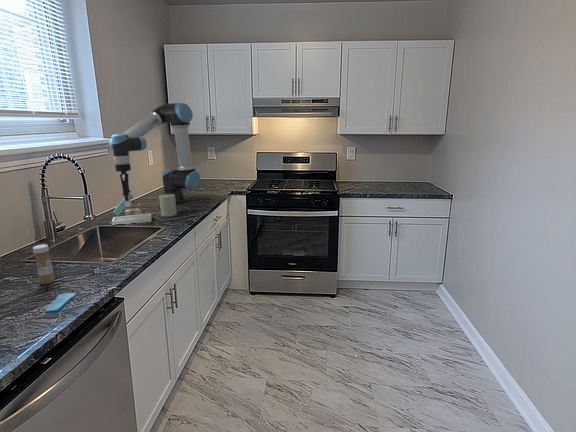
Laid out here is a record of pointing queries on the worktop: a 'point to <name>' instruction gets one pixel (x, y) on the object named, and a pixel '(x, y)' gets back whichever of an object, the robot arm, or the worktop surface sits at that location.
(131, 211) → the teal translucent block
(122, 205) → the bar
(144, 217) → the tray
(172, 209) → the can
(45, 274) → the sprinkles bottle
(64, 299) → the sponge
